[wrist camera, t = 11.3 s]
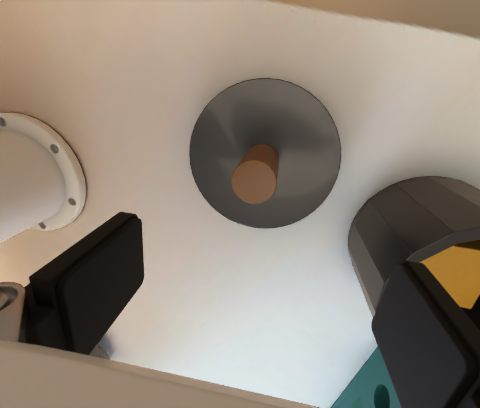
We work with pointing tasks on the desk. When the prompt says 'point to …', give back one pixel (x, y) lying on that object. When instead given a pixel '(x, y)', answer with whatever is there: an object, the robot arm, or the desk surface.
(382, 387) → the bracket
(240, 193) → the lid
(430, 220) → the pot
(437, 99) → the desk surface
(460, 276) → the block
